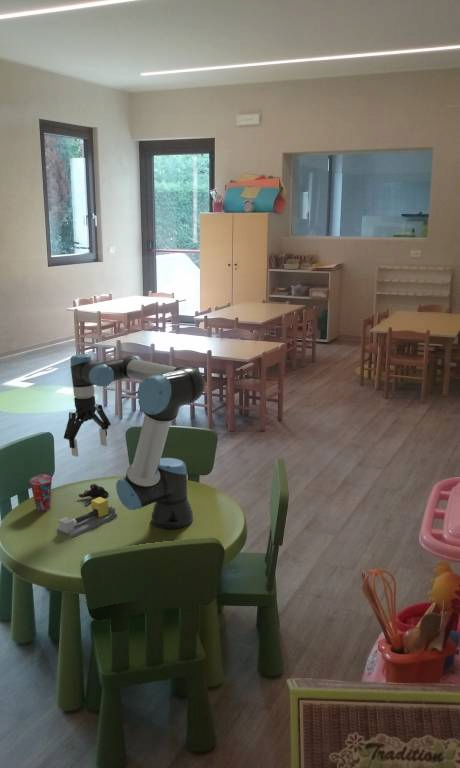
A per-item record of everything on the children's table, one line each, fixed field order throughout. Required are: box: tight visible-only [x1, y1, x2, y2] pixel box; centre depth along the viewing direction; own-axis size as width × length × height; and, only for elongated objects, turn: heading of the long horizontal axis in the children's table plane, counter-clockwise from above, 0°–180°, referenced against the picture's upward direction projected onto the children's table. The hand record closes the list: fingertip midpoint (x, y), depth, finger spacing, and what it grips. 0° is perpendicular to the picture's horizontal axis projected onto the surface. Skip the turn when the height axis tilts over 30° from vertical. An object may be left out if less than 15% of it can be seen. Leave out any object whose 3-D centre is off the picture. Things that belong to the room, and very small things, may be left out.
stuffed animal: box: [78, 482, 109, 507], centre depth 273 cm, size 12×10×12 cm
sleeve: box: [90, 497, 109, 517], centre depth 255 cm, size 4×4×6 cm
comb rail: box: [56, 505, 118, 539], centre depth 251 cm, size 21×8×5 cm, turn 139°
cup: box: [28, 473, 53, 512], centre depth 263 cm, size 9×8×12 cm
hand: (89, 450), depth 260 cm, fingers open, 13 cm apart
